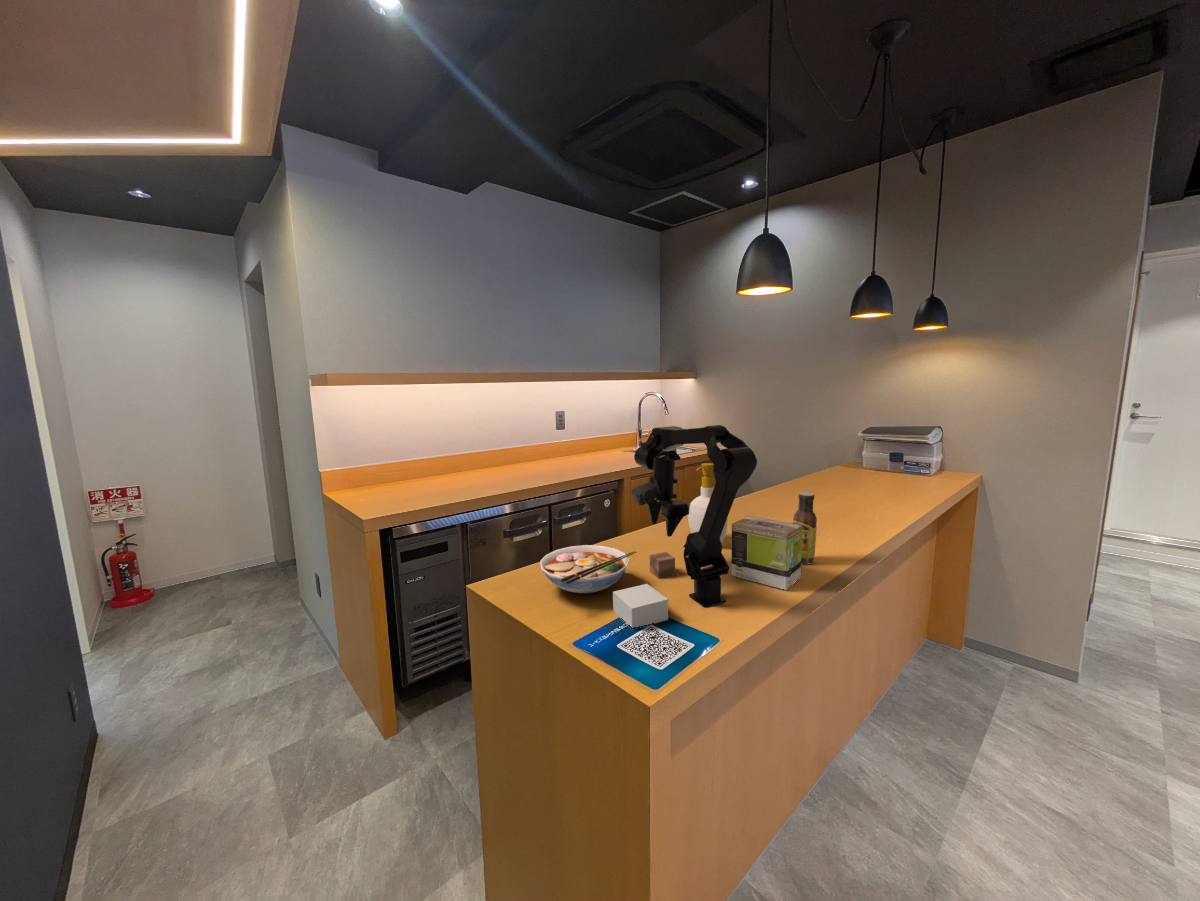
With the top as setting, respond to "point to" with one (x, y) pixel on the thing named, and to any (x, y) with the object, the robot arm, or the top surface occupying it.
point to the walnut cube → (662, 565)
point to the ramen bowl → (585, 567)
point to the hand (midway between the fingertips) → (661, 529)
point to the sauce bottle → (806, 526)
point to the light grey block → (640, 605)
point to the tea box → (766, 551)
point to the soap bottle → (703, 501)
